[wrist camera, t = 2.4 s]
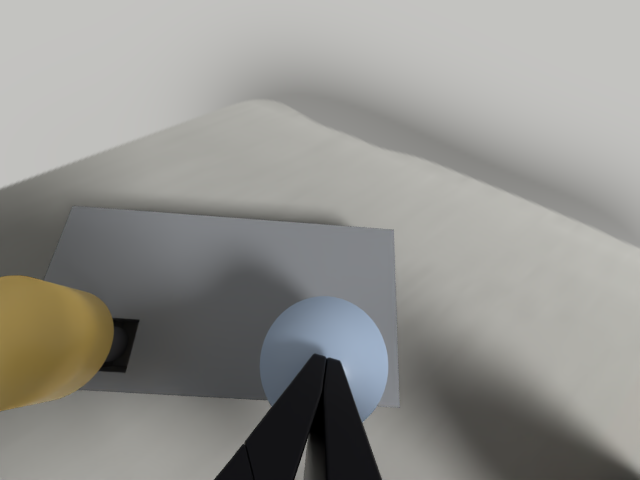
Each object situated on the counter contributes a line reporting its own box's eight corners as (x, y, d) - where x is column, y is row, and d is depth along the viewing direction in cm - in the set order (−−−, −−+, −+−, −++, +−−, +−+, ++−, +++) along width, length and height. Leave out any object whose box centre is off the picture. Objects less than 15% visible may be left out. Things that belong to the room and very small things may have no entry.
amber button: (171, 338, 14) (92, 332, 9) (101, 409, 13) (-39, 452, 8) (119, 286, 15) (18, 251, 10) (48, 348, 14) (-112, 349, 9)
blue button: (372, 351, 15) (412, 352, 9) (321, 421, 14) (333, 470, 8) (312, 299, 16) (317, 271, 10) (258, 361, 14) (232, 369, 9)
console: (377, 251, 21) (393, 229, 17) (378, 395, 17) (399, 407, 14) (115, 232, 20) (72, 205, 16) (68, 377, 17) (2, 385, 13)
